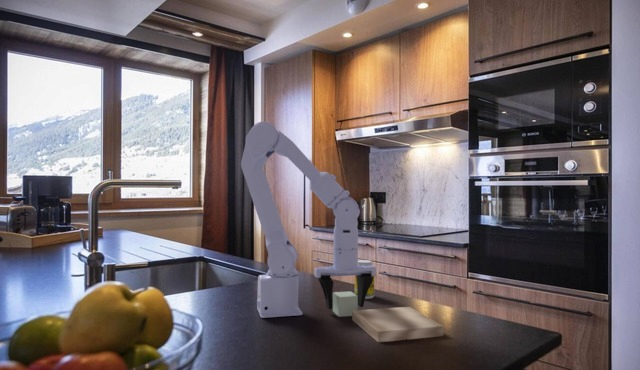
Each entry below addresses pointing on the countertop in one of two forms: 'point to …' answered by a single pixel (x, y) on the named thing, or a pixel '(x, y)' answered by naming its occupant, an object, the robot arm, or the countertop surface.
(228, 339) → the countertop surface
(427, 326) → the birch block
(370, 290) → the supplement bottle
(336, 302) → the sage cube
